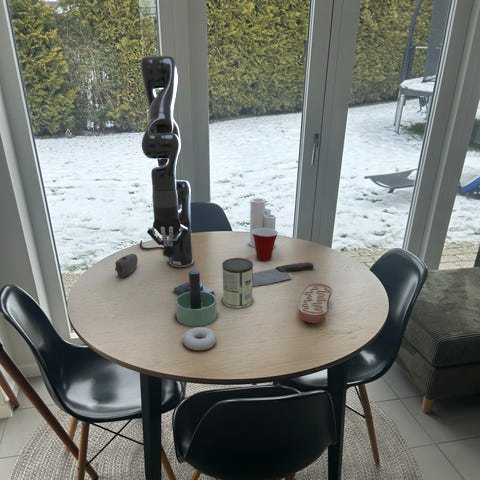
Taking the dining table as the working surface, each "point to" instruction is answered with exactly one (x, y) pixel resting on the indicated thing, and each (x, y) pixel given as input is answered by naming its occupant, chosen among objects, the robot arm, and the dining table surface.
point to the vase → (260, 217)
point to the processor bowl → (196, 310)
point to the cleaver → (278, 273)
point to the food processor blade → (194, 290)
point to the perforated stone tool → (126, 265)
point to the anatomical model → (314, 302)
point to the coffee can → (237, 282)
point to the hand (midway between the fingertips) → (169, 256)
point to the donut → (199, 344)
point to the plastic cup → (264, 242)
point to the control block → (185, 288)
